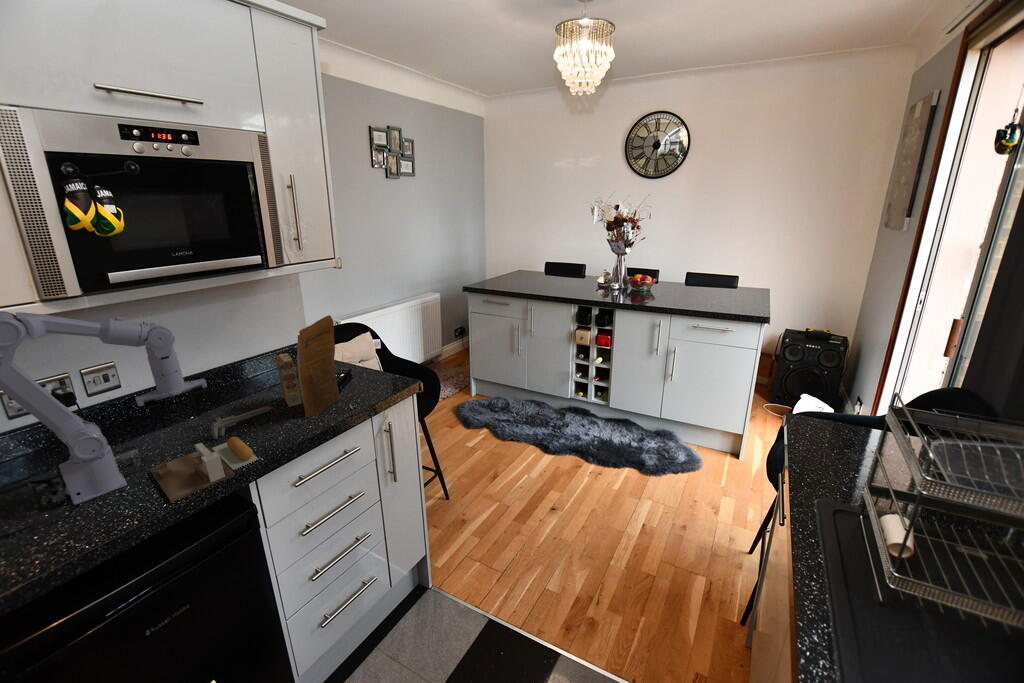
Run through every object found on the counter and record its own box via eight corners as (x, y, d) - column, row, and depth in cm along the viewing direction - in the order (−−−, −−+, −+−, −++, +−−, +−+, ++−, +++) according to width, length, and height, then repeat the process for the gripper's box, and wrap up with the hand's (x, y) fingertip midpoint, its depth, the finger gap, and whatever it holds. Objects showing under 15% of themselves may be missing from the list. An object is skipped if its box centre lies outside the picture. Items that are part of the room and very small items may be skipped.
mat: (233, 470, 113) (232, 469, 113) (212, 449, 124) (211, 448, 124) (258, 460, 118) (258, 458, 117) (236, 440, 128) (235, 438, 128)
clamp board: (170, 502, 102) (167, 492, 102) (150, 471, 115) (147, 462, 114) (234, 475, 111) (232, 466, 111) (209, 449, 124) (206, 441, 123)
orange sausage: (222, 442, 122) (231, 433, 123) (231, 448, 124) (240, 438, 125) (239, 457, 114) (248, 447, 116) (248, 463, 116) (257, 453, 118)
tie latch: (210, 482, 107) (205, 461, 106) (196, 466, 114) (190, 446, 113) (225, 476, 109) (219, 455, 108) (210, 460, 117) (204, 441, 115)
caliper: (217, 440, 129) (211, 420, 127) (214, 440, 129) (208, 420, 127) (273, 408, 147) (269, 390, 145) (270, 408, 148) (266, 390, 146)
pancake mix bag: (352, 394, 155) (339, 313, 146) (315, 421, 137) (298, 331, 129) (335, 393, 156) (321, 313, 148) (296, 419, 139) (278, 330, 130)
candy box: (302, 403, 149) (293, 359, 145) (288, 407, 147) (279, 362, 142) (296, 395, 156) (287, 352, 152) (282, 398, 154) (273, 355, 149)
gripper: (133, 385, 107) (150, 437, 111) (205, 366, 117) (217, 415, 121) (127, 378, 111) (143, 428, 115) (196, 361, 121) (209, 407, 126)
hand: (181, 421), depth 118 cm, fingers open, 7 cm apart
